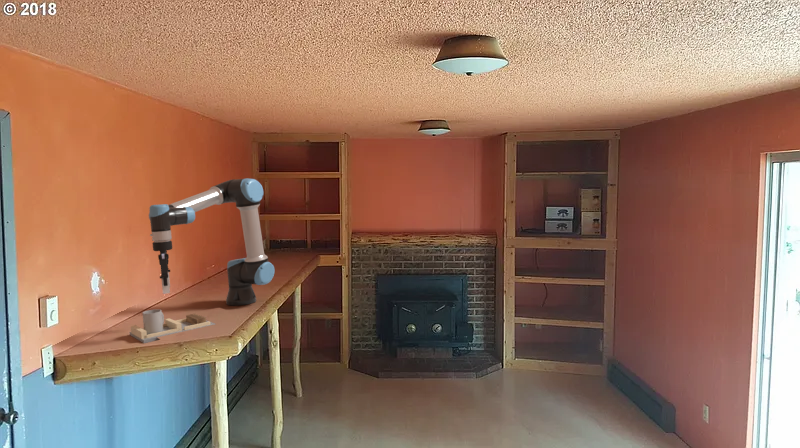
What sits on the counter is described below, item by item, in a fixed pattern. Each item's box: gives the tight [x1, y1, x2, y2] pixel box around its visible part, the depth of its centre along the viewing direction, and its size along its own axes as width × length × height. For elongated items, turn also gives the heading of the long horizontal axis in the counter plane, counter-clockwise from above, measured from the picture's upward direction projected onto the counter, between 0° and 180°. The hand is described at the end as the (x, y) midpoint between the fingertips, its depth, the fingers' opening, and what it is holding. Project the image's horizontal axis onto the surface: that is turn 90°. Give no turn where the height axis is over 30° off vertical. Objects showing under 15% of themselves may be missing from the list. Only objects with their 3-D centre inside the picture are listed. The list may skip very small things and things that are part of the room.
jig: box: [129, 317, 216, 344], centre depth 226 cm, size 30×18×4 cm, turn 134°
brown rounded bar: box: [185, 313, 207, 325], centre depth 233 cm, size 4×12×3 cm, turn 44°
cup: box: [142, 309, 165, 335], centre depth 222 cm, size 7×10×9 cm
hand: (166, 290), depth 224 cm, fingers open, 13 cm apart
